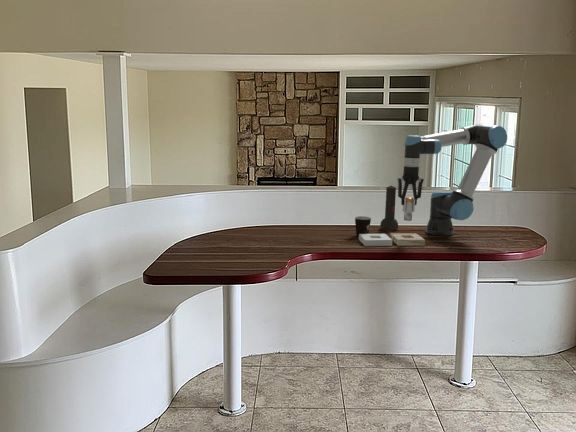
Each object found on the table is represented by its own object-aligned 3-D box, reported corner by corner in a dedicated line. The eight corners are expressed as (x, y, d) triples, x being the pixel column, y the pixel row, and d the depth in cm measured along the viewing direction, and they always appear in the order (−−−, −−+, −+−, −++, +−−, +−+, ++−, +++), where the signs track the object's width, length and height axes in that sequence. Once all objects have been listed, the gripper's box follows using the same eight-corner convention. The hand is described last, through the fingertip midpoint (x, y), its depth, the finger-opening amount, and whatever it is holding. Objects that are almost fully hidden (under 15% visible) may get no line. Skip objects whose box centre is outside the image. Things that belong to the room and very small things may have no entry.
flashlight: (376, 228, 362) (387, 231, 353) (378, 184, 357) (390, 187, 348) (390, 226, 367) (401, 230, 358) (392, 183, 362) (404, 186, 353)
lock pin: (402, 219, 329) (404, 197, 327) (410, 219, 330) (411, 197, 328) (405, 220, 325) (406, 198, 323) (412, 220, 326) (414, 198, 324)
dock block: (390, 239, 336) (390, 233, 335) (415, 238, 338) (416, 233, 337) (397, 245, 322) (398, 239, 322) (424, 245, 324) (424, 239, 323)
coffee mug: (360, 238, 336) (360, 220, 334) (351, 235, 344) (351, 217, 342) (378, 236, 341) (378, 218, 339) (368, 233, 349) (369, 215, 347)
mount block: (358, 239, 334) (358, 233, 333) (384, 239, 336) (385, 233, 335) (364, 246, 320) (365, 240, 320) (392, 245, 322) (392, 240, 321)
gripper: (397, 166, 317) (394, 212, 322) (430, 167, 319) (426, 212, 324) (393, 164, 325) (390, 209, 329) (425, 165, 327) (422, 210, 331)
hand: (408, 211), depth 327 cm, fingers closed on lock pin, 4 cm apart
